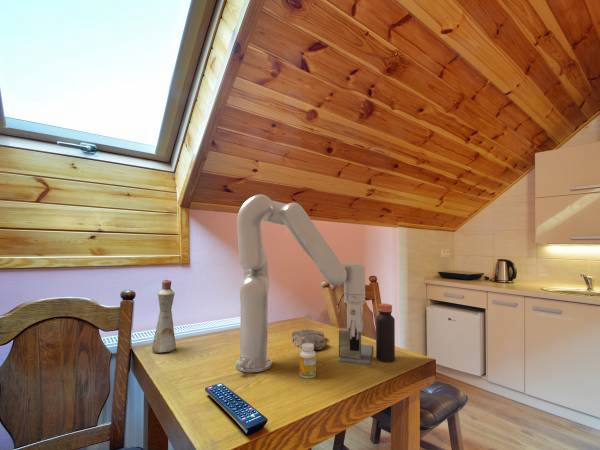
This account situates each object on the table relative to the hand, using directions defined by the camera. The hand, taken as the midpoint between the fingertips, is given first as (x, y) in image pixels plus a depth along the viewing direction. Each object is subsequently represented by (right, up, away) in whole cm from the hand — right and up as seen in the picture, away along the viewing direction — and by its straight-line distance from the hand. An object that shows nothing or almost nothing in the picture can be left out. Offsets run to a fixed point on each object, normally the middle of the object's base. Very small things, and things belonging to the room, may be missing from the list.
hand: (354, 349), depth 111 cm
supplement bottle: (-17, -5, -9) cm, 20 cm away
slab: (-1, -5, +6) cm, 8 cm away
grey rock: (-15, -7, +22) cm, 27 cm away
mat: (+3, -6, +10) cm, 12 cm away
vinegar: (+13, -6, +5) cm, 15 cm away
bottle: (-73, -5, +12) cm, 75 cm away
